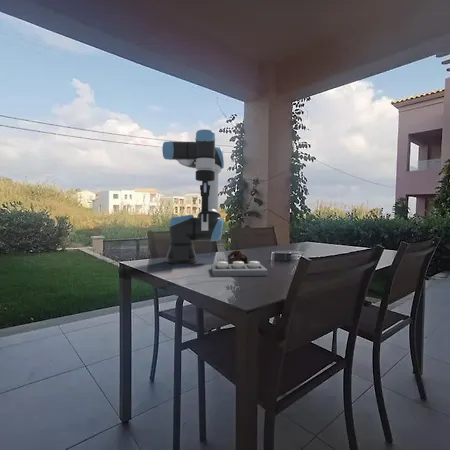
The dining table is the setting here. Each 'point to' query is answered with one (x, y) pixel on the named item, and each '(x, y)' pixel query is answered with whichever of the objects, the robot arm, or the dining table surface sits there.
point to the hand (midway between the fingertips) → (204, 230)
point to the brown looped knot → (237, 257)
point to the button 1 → (222, 265)
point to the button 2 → (254, 264)
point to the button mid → (238, 265)
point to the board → (239, 271)
